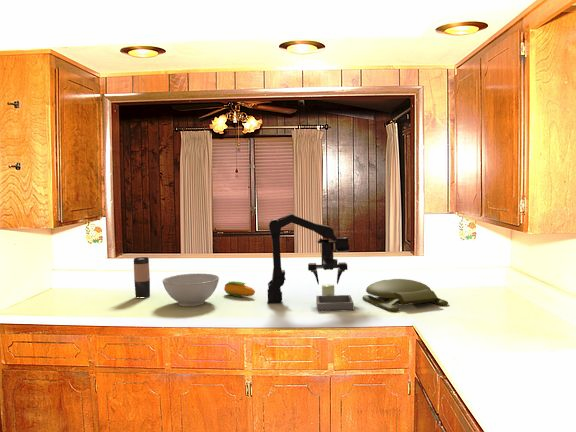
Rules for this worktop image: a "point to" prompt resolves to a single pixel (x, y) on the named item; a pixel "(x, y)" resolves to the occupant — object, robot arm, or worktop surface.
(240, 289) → the corn
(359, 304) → the worktop surface
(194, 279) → the decorative bowl
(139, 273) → the travel mug
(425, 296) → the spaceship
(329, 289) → the salad tub
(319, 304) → the serving bin
